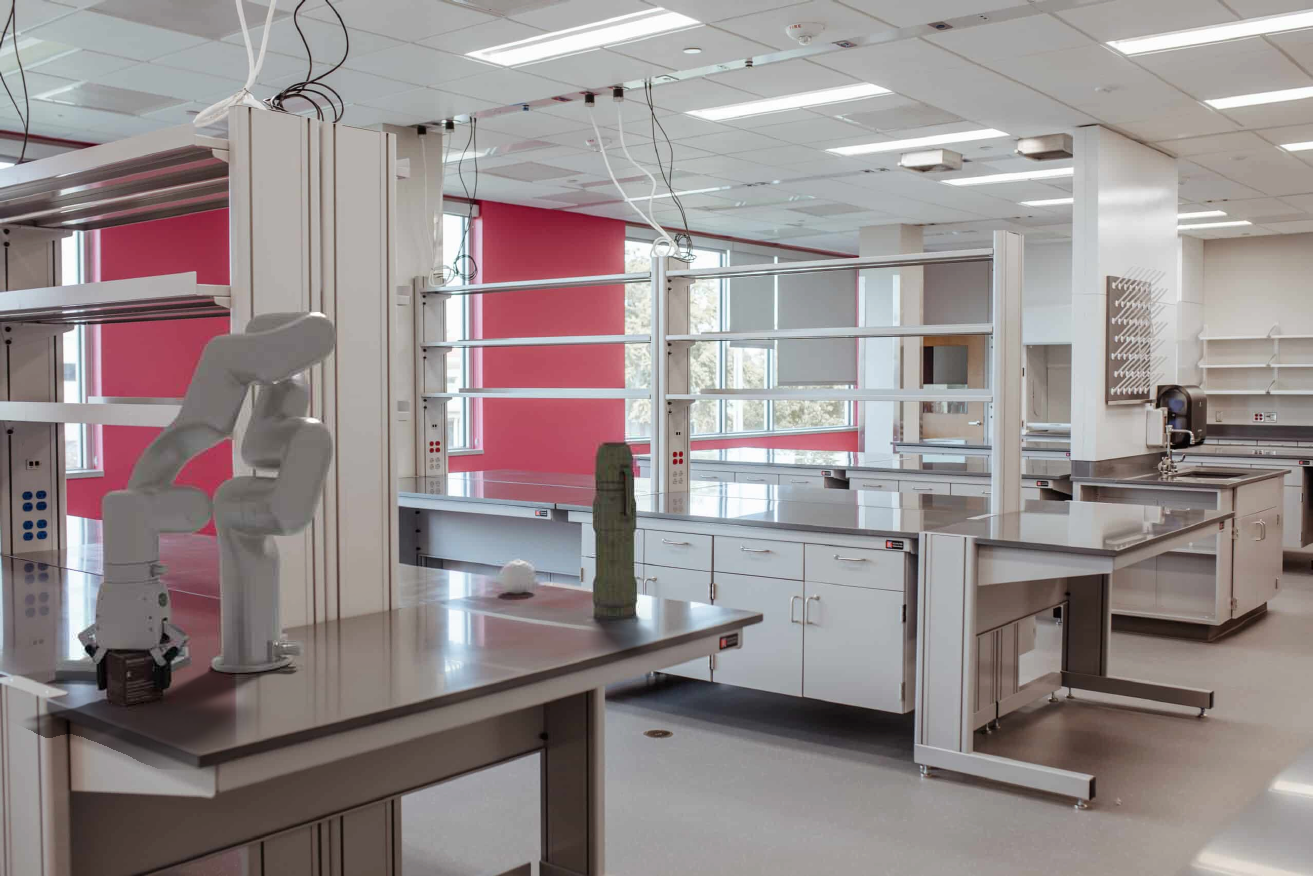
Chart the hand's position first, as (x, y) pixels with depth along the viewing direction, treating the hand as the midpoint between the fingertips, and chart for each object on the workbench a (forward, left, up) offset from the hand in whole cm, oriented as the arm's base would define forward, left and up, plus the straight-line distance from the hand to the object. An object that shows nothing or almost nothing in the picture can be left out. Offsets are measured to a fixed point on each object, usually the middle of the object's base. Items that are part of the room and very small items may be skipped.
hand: (134, 688), depth 164 cm
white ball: (-38, -87, -2) cm, 95 cm away
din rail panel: (+11, -15, -2) cm, 19 cm away
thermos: (-63, -66, -2) cm, 91 cm away
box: (0, 0, -2) cm, 2 cm away
